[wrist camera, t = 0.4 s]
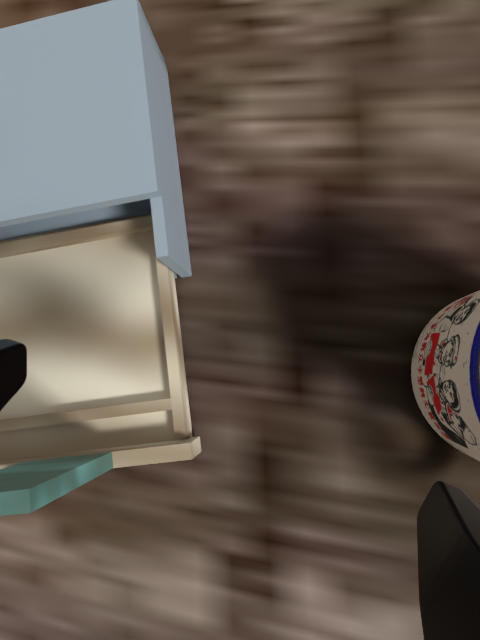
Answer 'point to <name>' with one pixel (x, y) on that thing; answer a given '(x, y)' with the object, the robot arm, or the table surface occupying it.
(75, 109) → the housing
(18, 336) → the tray
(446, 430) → the teacup with lid
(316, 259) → the table surface
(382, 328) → the table surface
